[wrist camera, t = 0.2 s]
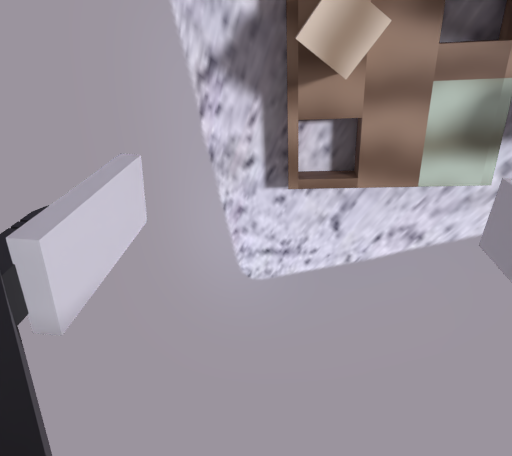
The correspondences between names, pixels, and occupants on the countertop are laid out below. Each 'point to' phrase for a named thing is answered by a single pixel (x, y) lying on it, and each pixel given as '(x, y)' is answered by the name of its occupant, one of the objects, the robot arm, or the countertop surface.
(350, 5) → the beech block
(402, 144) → the wooden flat square board
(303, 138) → the countertop surface
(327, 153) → the countertop surface
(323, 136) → the countertop surface
